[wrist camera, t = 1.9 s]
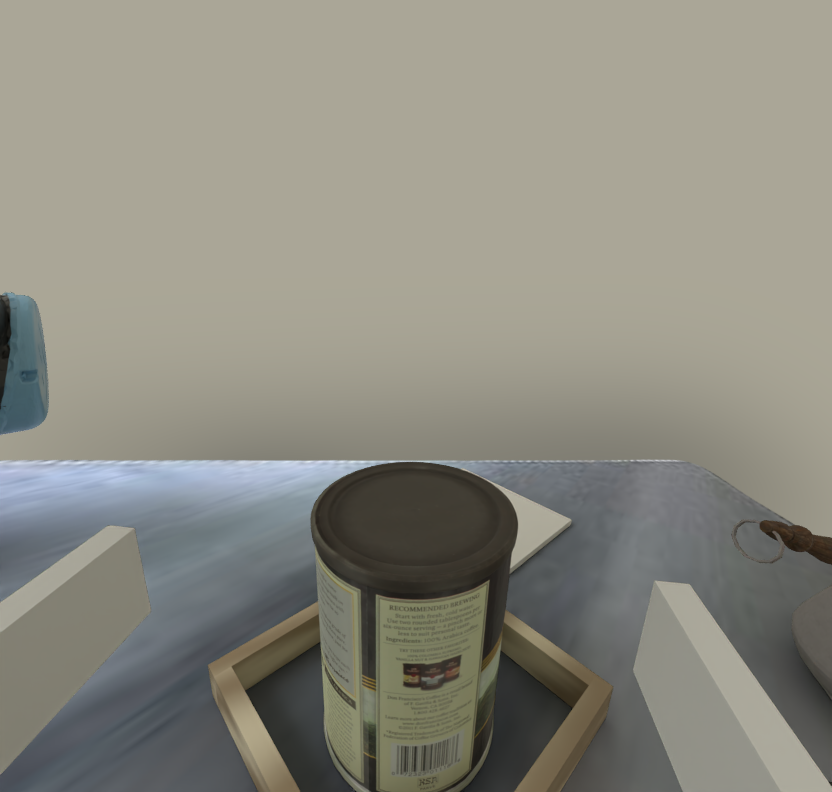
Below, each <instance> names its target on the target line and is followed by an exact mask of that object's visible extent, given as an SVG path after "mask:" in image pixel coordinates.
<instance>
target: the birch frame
mask: <svg viewBox="0 0 832 792" xmlns="http://www.w3.org/2000/svg"><path fill="white" fill-rule="evenodd" d="M320 641H321V640H320V623H319V606H318V602H316V603H314V604H313V605H311V606H309V607H307V608H306V609H304V610H302V611H301V612H299V613H297V614H295V615H294V616H292V617H290V618H288V619H287V620H285V621H283V622H282V623H280V624H278V625H276V626H275V627H273V628H271V629H269V630H268V631H266V632H264V633H263V634H261V635H259V636H257V637H256V638H254V639H252V640H250V641H249V642H247V643H245V644H244V645H242V646H240V647H238V648H237V649H235V650H233V651H231V652H230V653H228V654H226V655H225V656H223V657H221V658H219V659H218V660H216V661H214V662H212V663H211V664H209V665H208V668H209V675H210V681H211V687H212V693H213V697H214V699H215V701H216V703H217V706H218V708H219V710H220V712H221V714H222V716H223V718H224V720H225V722H226V725H227V727H228V729H229V731H230V733H231V735H232V737H233V739H234V742H235V744H236V746H237V748H238V750H239V752H240V754H241V756H242V758H243V761H244V763H245V765H246V767H247V769H248V771H249V773H250V775H251V778H252V780H253V782H254V784H255V786H256V788H257V790H258V792H300V790H299V788H298V787H297V785H296V783H295V781H294V779H293V777H292V776H291V774H290V772H289V770H288V768H287V767H286V765H285V763H284V761H283V759H282V757H281V756H280V754H279V752H278V750H277V748H276V747H275V745H274V743H273V741H272V739H271V737H270V736H269V734H268V732H267V730H266V728H265V727H264V725H263V723H262V721H261V719H260V717H259V716H258V714H257V712H256V710H255V708H254V707H253V705H252V703H251V701H250V699H249V697H248V696H247V694H246V692H245V690H247V689H249V688H250V687H252V686H253V685H255V684H256V683H258V682H259V681H261V680H262V679H264V678H265V677H267V676H268V675H270V674H271V673H273V672H275V671H276V670H278V669H279V668H281V667H282V666H284V665H285V664H287V663H288V662H290V661H291V660H293V659H294V658H296V657H297V656H299V655H301V654H302V653H304V652H305V651H307V650H308V649H310V648H311V647H313V646H314V645H316V644H317V643H319V642H320ZM501 651H502V652H504V653H505V654H506V655H507V656H508V657H510V658H511V659H512V660H513V661H515V662H516V663H517V664H518V665H520V666H521V667H522V668H523V669H525V670H526V671H527V672H528V673H530V674H531V675H532V676H533V677H535V678H536V679H537V680H538V681H540V682H541V683H542V684H543V685H545V686H546V687H547V688H548V689H550V690H551V691H552V692H553V693H554V694H556V695H557V696H558V697H559V698H561V699H562V700H563V701H564V702H566V703H567V704H568V705H569V706H571V707H572V708H573V709H572V710H571V712H570V713H569V715H568V716H567V717H566V719H565V720H564V722H563V723H562V725H561V726H560V727H559V729H558V730H557V732H556V733H555V735H554V736H553V737H552V739H551V740H550V742H549V743H548V744H547V746H546V747H545V749H544V750H543V752H542V753H541V754H540V756H539V757H538V759H537V760H536V762H535V763H534V764H533V766H532V767H531V769H530V770H529V771H528V773H527V774H526V776H525V777H524V779H523V780H522V781H521V783H520V784H519V786H518V787H517V789H516V790H515V791H514V792H560V791H561V790H562V788H563V787H564V785H565V783H566V782H567V780H568V778H569V777H570V775H571V774H572V772H573V770H574V769H575V767H576V765H577V764H578V762H579V761H580V759H581V757H582V756H583V754H584V752H585V751H586V749H587V747H588V746H589V744H590V743H591V741H592V739H593V738H594V736H595V734H596V733H597V731H598V730H599V728H600V726H601V725H602V723H603V721H604V720H605V718H606V715H607V711H608V707H609V703H610V699H611V694H612V690H613V686H612V685H610V684H609V683H607V682H606V681H605V680H603V679H602V678H600V677H599V676H598V675H596V674H595V673H593V672H592V671H591V670H589V669H588V668H586V667H585V666H584V665H582V664H581V663H579V662H578V661H577V660H575V659H574V658H572V657H571V656H570V655H568V654H567V653H565V652H564V651H563V650H561V649H560V648H558V647H557V646H556V645H554V644H553V643H551V642H550V641H549V640H547V639H546V638H544V637H543V636H542V635H540V634H539V633H538V632H536V631H535V630H533V629H532V628H531V627H529V626H528V625H526V624H525V623H524V622H522V621H521V620H519V619H518V618H517V617H515V616H514V615H512V614H511V613H510V612H508V611H507V610H505V617H504V624H503V632H502V641H501Z"/></svg>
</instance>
